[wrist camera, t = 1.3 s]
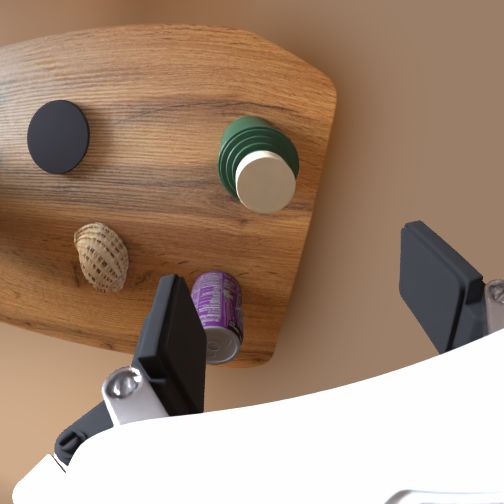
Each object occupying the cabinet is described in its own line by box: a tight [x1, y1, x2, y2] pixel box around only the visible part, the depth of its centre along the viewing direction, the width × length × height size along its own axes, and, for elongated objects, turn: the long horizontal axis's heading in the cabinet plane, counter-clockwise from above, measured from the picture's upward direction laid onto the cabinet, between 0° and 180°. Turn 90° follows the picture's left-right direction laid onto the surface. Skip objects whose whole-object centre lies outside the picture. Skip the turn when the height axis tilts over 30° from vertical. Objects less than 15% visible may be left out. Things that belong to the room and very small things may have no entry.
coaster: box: [27, 100, 90, 174], centre depth 34 cm, size 10×10×1 cm
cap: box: [236, 151, 296, 213], centre depth 23 cm, size 4×4×2 cm
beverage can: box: [191, 271, 244, 365], centre depth 42 cm, size 7×7×12 cm
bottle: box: [218, 116, 299, 201], centre depth 30 cm, size 7×7×18 cm
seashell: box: [74, 222, 129, 293], centre depth 41 cm, size 8×6×10 cm
